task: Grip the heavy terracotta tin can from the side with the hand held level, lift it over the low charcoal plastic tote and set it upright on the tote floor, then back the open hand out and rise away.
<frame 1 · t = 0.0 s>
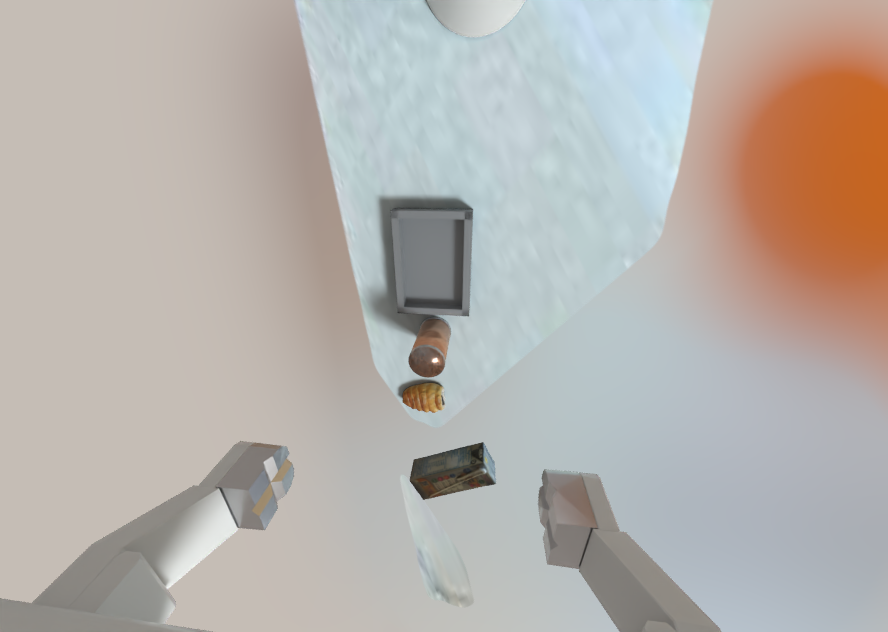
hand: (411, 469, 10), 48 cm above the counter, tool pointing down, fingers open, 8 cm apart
beverage carton: (453, 459, 79), on the counter
tin can: (435, 330, 63), on the counter
tote: (434, 261, 57), on the counter
pastry: (427, 393, 71), on the counter
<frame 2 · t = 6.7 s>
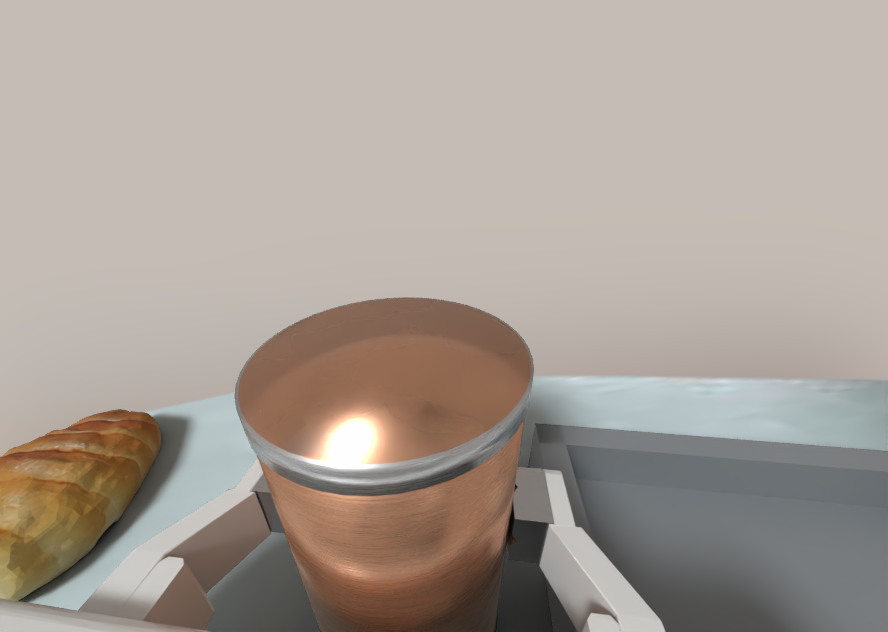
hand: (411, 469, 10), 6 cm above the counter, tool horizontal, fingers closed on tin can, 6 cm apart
tin can: (413, 601, 12), on the counter, touching gripper
pastry: (56, 522, 15), on the counter
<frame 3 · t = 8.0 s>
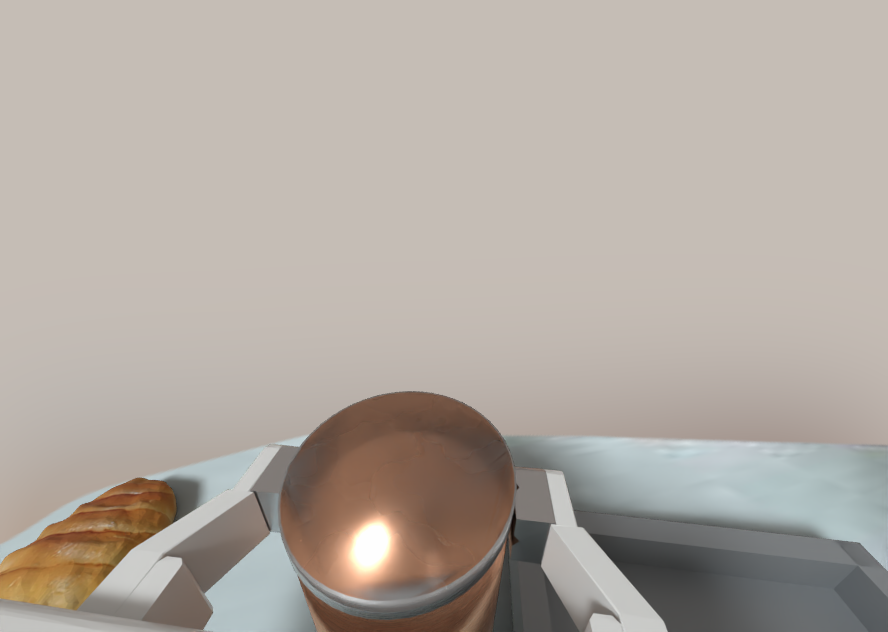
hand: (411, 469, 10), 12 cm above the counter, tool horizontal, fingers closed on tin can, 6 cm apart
pastry: (88, 591, 17), on the counter
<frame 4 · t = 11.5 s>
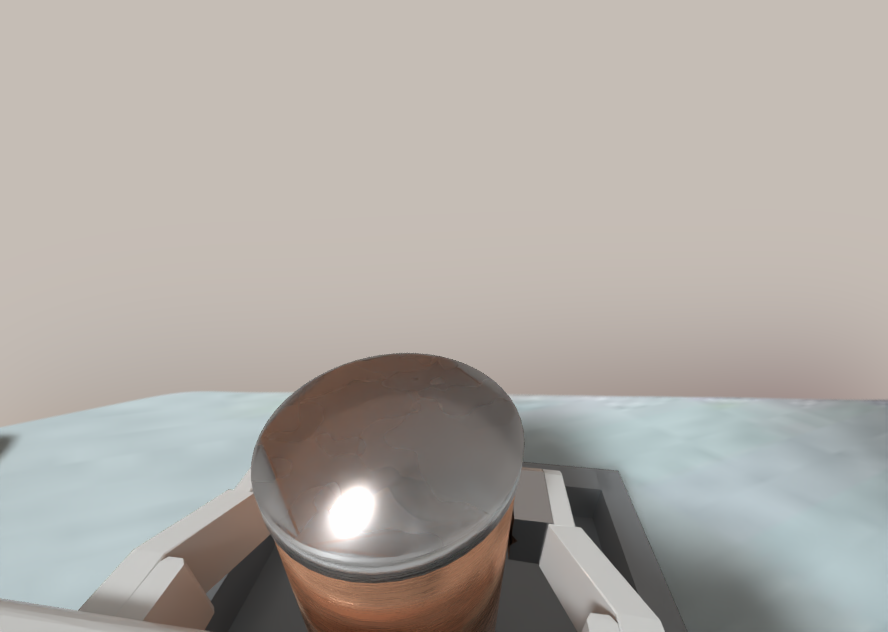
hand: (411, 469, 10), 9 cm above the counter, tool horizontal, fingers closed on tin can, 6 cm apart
when the fingers open (9 cm above the counter, at t = 11.5 s): tin can stays where it is, resting on tote.
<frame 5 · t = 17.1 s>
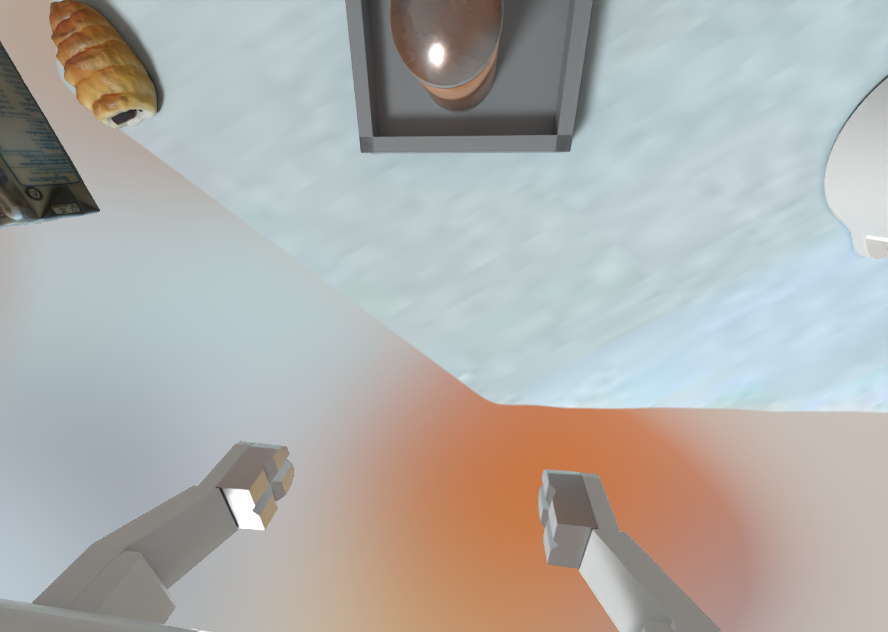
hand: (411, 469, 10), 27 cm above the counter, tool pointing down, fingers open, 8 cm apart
beverage carton: (26, 126, 34), on the counter
tin can: (459, 70, 27), point 1 cm above the counter, touching tote
tote: (465, 67, 27), on the counter
pastry: (122, 78, 31), on the counter
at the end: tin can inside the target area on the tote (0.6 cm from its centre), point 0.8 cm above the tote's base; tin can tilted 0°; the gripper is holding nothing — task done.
